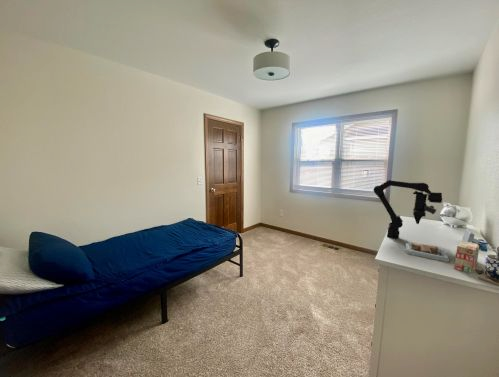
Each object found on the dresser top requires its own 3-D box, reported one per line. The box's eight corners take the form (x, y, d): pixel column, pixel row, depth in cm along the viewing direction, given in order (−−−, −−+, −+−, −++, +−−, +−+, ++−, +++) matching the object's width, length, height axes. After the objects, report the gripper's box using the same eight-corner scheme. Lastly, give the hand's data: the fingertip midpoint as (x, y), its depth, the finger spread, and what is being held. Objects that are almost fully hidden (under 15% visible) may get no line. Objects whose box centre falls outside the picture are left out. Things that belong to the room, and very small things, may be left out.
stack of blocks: (461, 257, 119) (464, 236, 117) (477, 262, 114) (480, 240, 112) (453, 268, 106) (457, 245, 104) (471, 274, 101) (475, 249, 99)
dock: (406, 253, 123) (407, 250, 123) (405, 246, 134) (405, 243, 134) (448, 261, 113) (448, 258, 113) (443, 253, 124) (443, 250, 124)
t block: (412, 253, 123) (413, 248, 123) (411, 246, 133) (411, 242, 133) (440, 258, 117) (440, 253, 116) (436, 251, 126) (437, 246, 126)
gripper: (437, 205, 129) (434, 229, 131) (435, 201, 143) (432, 223, 145) (414, 202, 136) (411, 225, 138) (414, 199, 150) (411, 220, 152)
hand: (417, 223), depth 143 cm, fingers closed
